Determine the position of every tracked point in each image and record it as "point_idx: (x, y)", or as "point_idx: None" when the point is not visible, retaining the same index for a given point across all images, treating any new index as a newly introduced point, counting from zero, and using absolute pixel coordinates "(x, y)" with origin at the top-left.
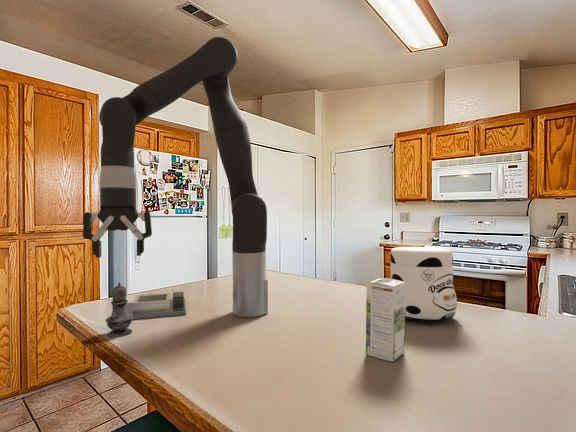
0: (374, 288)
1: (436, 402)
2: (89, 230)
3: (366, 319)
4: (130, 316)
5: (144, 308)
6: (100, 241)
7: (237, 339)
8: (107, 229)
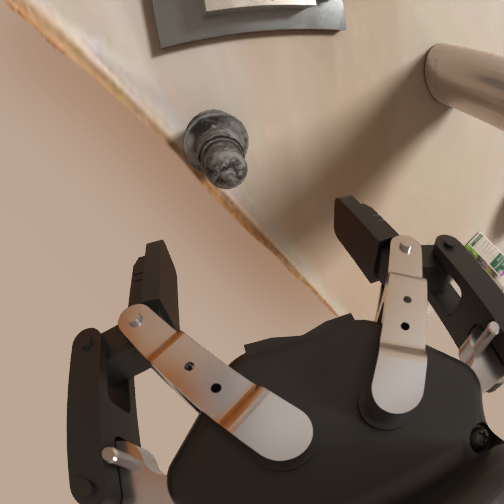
0: (501, 289)
1: None
2: (132, 401)
3: (484, 266)
4: (242, 140)
5: (239, 10)
6: (166, 311)
7: (405, 195)
8: (205, 356)
